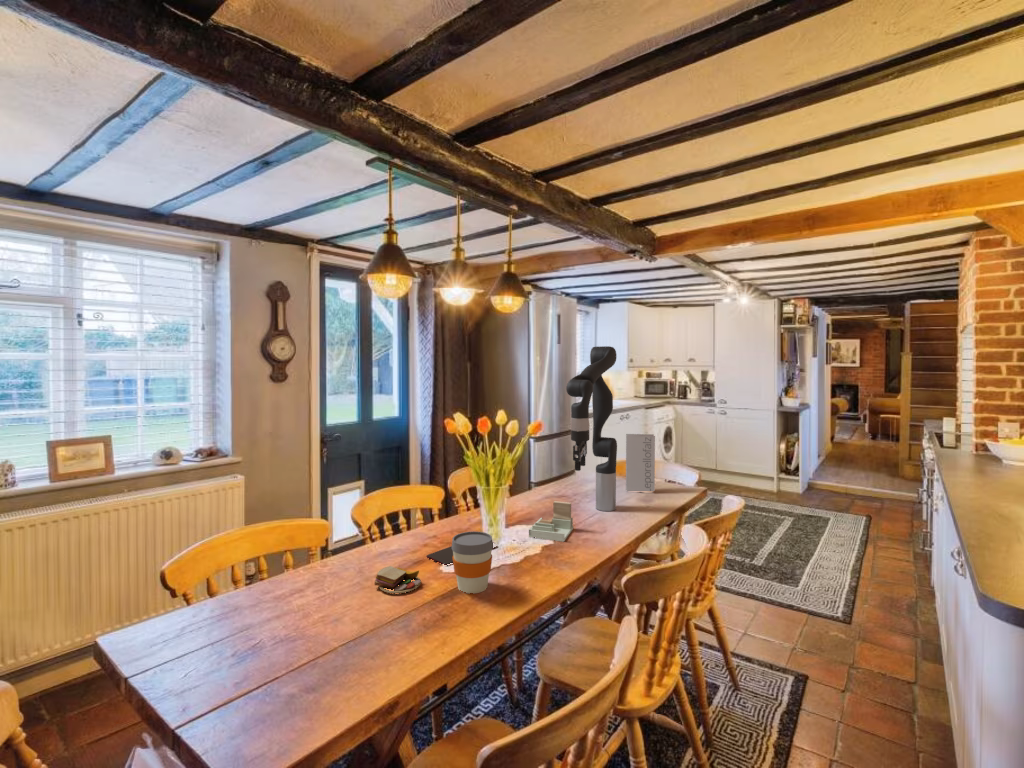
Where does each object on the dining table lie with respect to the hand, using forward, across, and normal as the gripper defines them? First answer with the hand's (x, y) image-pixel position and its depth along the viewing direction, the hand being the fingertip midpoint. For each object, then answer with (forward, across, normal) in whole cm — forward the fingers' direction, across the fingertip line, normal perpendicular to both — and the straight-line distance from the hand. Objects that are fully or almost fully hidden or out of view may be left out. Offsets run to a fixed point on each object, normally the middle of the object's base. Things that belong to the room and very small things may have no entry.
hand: (580, 468), depth 202 cm
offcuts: (+24, +10, -12) cm, 28 cm away
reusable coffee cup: (+24, +64, -18) cm, 71 cm away
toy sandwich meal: (+24, +72, -40) cm, 85 cm away
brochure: (+27, -67, +16) cm, 74 cm away
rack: (+25, +10, -10) cm, 28 cm away
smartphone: (+25, +40, -34) cm, 58 cm away
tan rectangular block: (+24, +4, -7) cm, 25 cm away
